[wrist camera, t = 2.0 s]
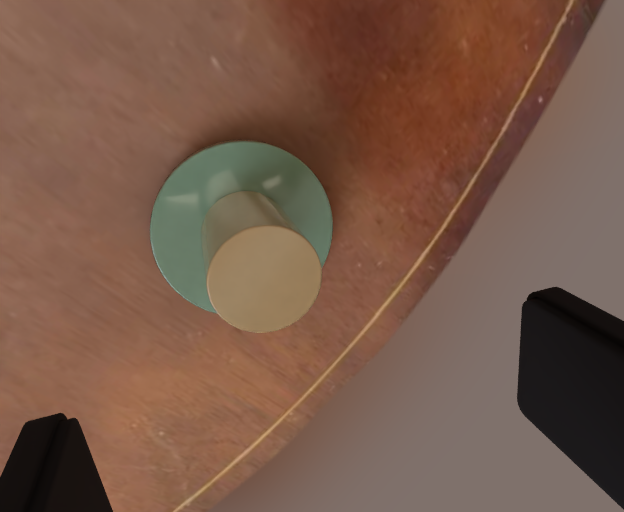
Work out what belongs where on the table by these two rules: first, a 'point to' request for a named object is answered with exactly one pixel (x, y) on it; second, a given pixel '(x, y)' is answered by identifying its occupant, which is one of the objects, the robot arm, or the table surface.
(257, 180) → the cylinder on green disc
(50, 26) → the table surface
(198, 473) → the table surface
